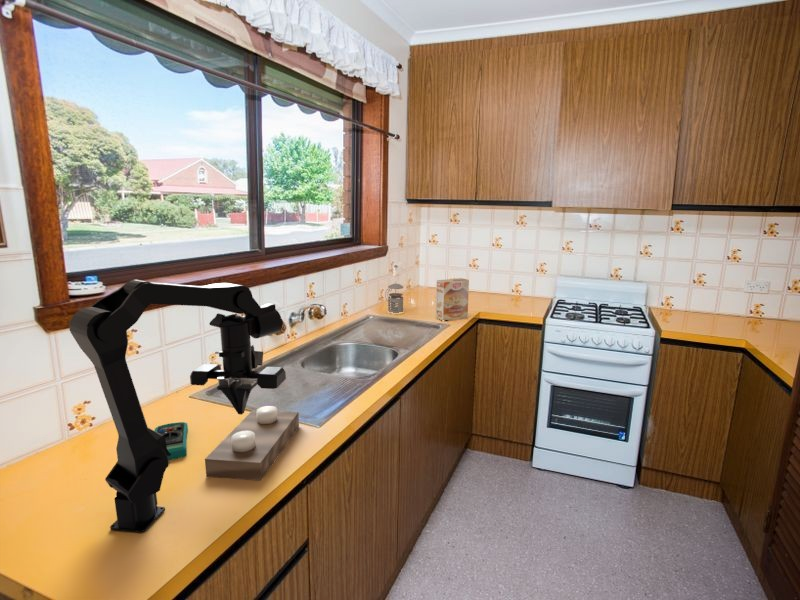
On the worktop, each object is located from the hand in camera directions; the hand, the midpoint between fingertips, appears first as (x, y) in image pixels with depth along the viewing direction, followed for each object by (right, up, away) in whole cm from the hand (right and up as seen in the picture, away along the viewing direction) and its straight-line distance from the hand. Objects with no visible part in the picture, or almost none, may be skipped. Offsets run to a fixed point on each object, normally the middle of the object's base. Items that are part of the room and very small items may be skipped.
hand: (241, 413), depth 101 cm
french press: (+31, +18, +146) cm, 150 cm away
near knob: (0, -12, +2) cm, 12 cm away
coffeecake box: (+60, +15, +133) cm, 146 cm away
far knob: (+2, -9, +15) cm, 18 cm away
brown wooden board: (+1, -10, +9) cm, 14 cm away
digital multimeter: (-20, -11, +11) cm, 25 cm away
